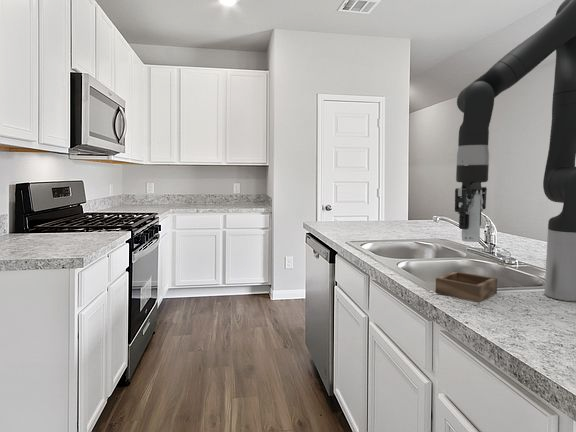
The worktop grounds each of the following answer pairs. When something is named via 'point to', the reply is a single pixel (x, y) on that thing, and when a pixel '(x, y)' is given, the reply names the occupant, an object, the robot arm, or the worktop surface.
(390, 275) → the worktop surface
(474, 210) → the skincare box
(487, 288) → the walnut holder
